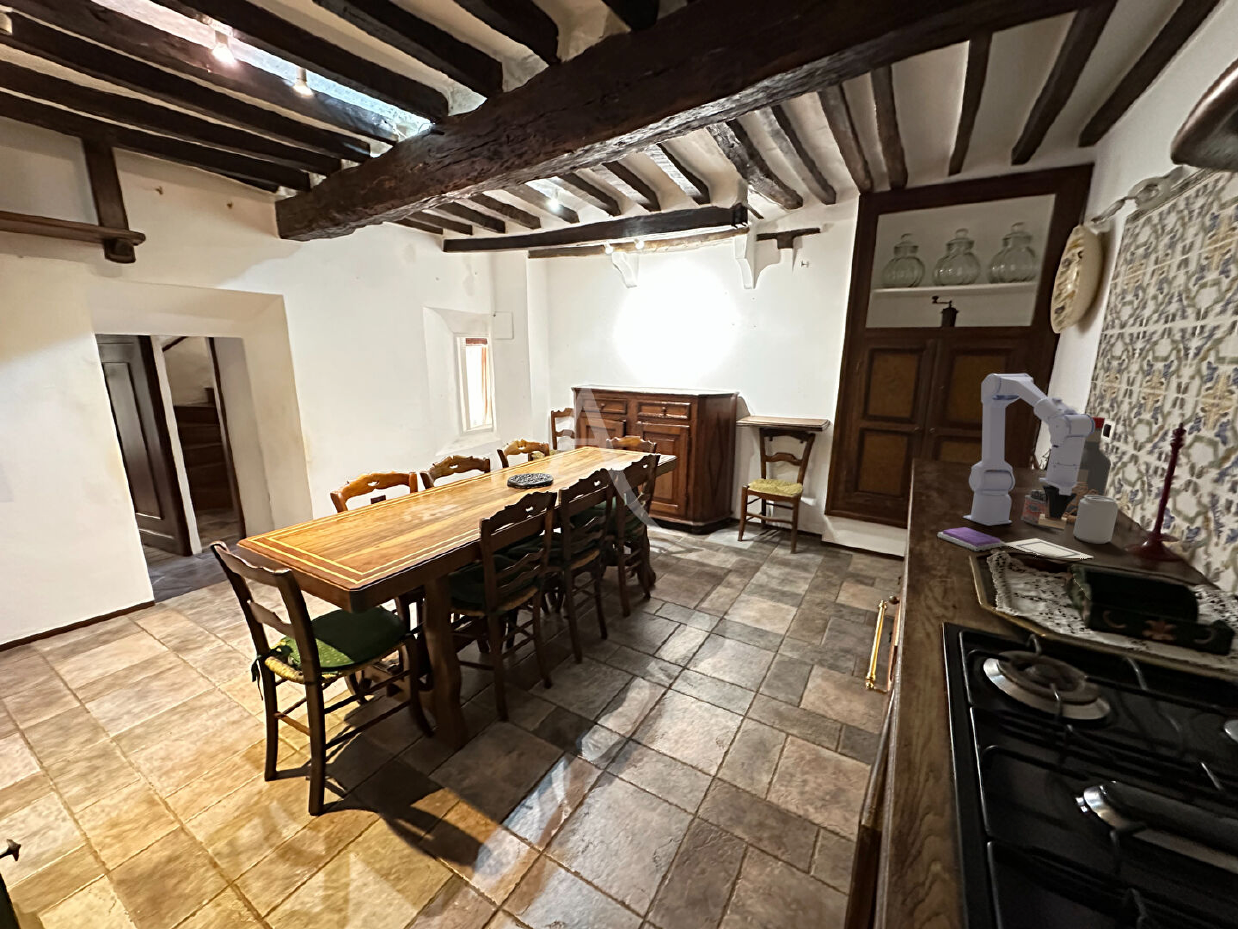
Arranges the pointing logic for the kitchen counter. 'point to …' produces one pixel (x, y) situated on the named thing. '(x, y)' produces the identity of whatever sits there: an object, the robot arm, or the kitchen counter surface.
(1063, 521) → the stamp
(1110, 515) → the can
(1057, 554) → the marked card
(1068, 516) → the gingerbread man figurine
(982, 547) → the ink pad
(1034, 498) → the lighter
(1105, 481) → the liquor
